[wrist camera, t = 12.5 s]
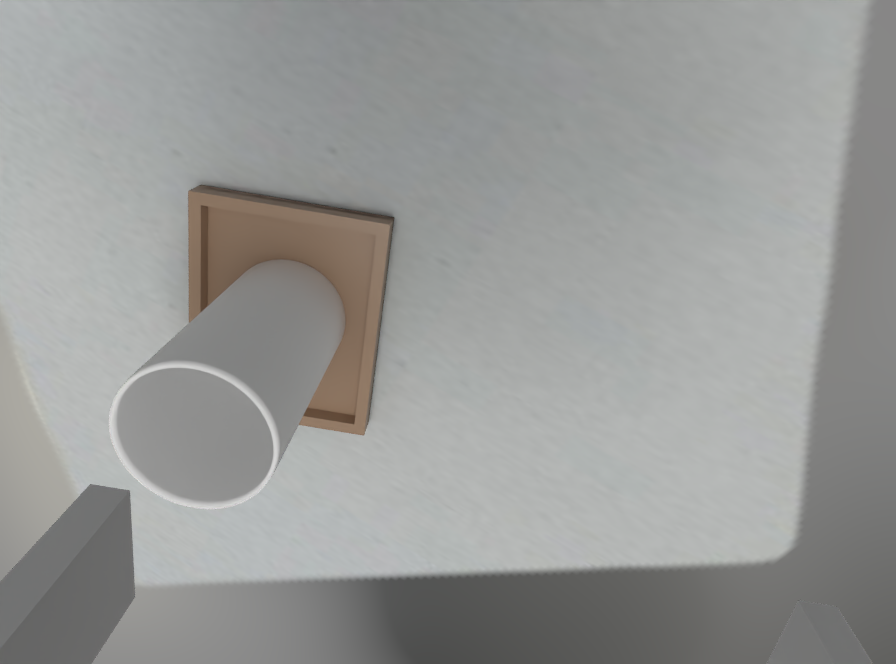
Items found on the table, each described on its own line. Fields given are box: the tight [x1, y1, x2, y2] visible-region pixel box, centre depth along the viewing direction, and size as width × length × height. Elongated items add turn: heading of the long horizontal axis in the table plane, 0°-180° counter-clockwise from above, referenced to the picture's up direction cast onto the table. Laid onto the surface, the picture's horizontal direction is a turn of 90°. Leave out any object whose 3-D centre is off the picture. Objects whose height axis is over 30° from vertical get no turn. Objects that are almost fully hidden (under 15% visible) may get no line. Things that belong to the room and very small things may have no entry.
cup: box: [109, 259, 346, 509], centre depth 38 cm, size 8×8×16 cm
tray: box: [188, 185, 394, 435], centre depth 45 cm, size 16×13×2 cm
